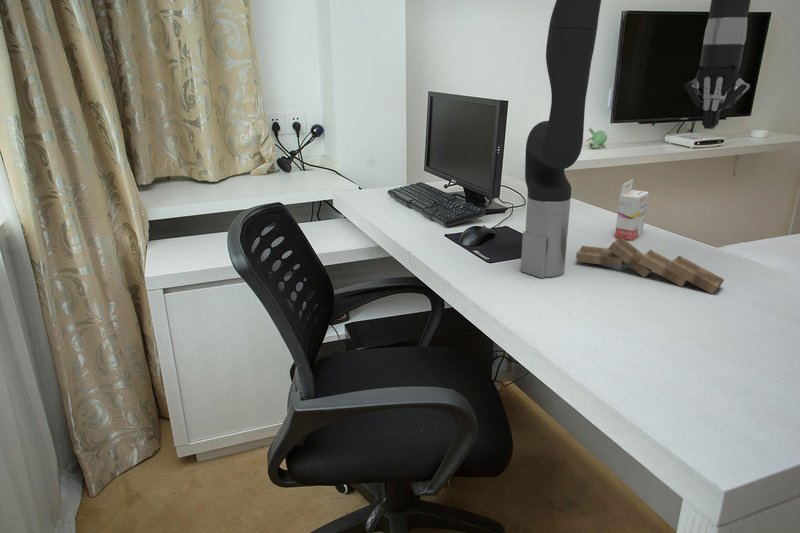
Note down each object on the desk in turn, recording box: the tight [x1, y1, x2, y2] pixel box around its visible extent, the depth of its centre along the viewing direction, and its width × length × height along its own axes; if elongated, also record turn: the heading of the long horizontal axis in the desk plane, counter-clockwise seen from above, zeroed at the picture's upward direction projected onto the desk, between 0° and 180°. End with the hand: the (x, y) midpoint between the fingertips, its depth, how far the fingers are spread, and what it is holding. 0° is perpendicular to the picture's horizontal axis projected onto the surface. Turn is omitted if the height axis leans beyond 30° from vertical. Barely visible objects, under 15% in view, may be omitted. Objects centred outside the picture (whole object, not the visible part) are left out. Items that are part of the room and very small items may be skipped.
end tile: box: [575, 251, 631, 271], centre depth 138 cm, size 5×2×12 cm
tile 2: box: [639, 249, 688, 288], centre depth 126 cm, size 5×2×10 cm
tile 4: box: [576, 245, 624, 267], centre depth 135 cm, size 5×2×10 cm
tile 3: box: [607, 237, 653, 279], centre depth 130 cm, size 5×2×10 cm
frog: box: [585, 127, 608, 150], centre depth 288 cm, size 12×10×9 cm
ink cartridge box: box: [614, 178, 650, 242], centre depth 153 cm, size 9×5×15 cm, turn 141°
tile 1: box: [667, 255, 725, 295], centre depth 122 cm, size 5×2×10 cm
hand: (709, 128), depth 125 cm, fingers closed
